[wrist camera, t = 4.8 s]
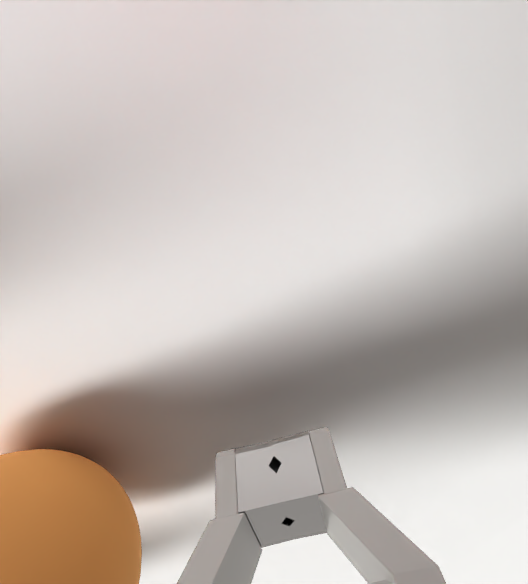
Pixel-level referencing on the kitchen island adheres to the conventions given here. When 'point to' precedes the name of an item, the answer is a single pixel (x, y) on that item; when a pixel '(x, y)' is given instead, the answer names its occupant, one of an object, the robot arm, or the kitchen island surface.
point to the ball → (65, 522)
